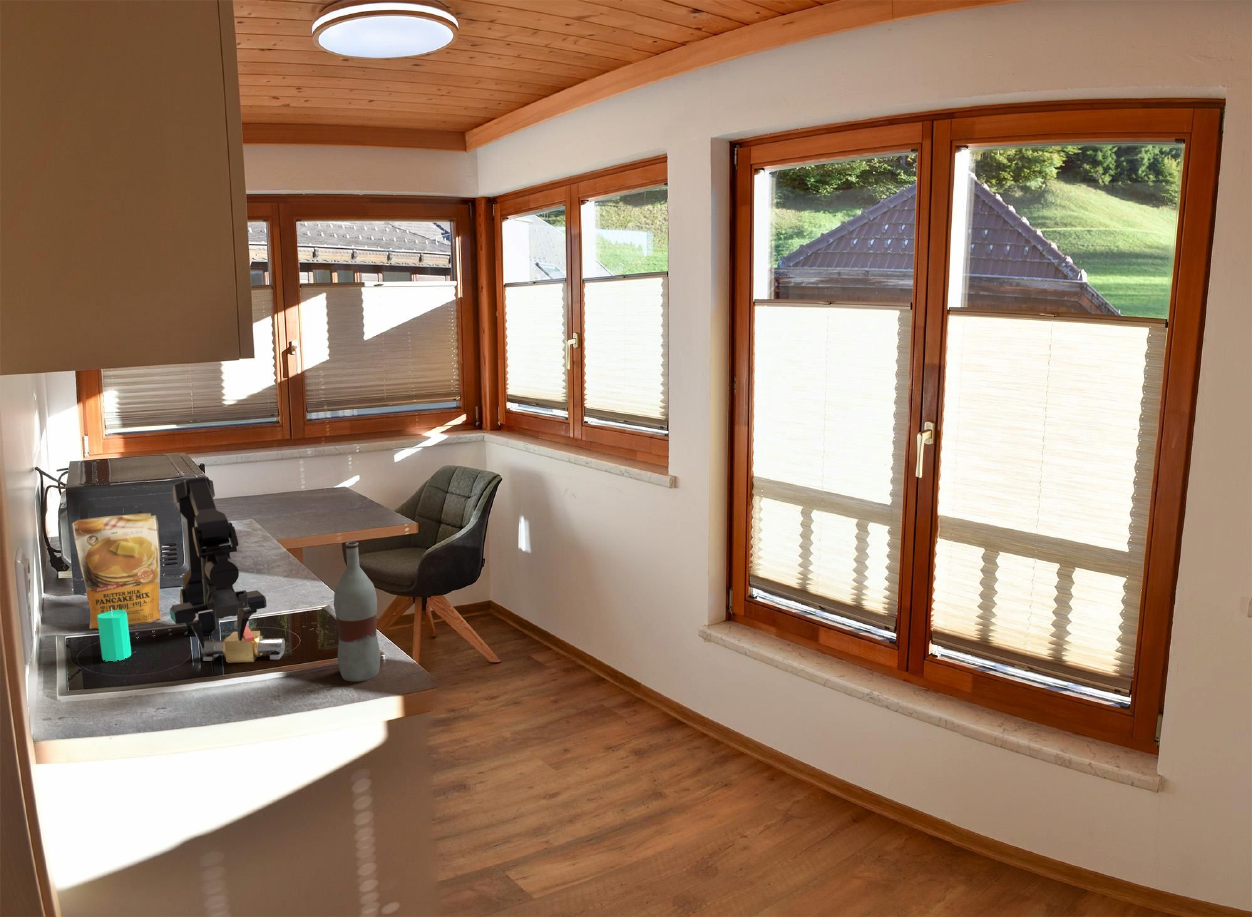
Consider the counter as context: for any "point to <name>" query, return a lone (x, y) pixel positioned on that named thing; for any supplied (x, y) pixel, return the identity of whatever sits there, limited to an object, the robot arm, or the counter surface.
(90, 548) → the pancake mix bag
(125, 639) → the candle
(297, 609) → the counter surface
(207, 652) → the valve
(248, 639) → the lever
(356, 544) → the vodka
